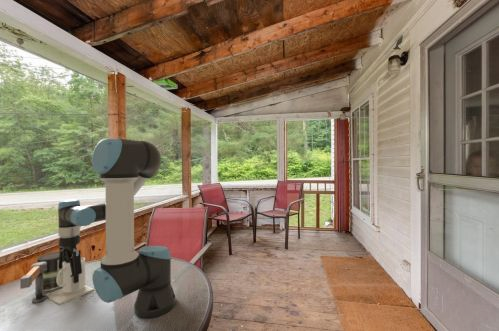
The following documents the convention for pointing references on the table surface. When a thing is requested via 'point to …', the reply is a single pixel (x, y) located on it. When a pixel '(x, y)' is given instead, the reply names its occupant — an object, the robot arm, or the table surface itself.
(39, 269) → the swing arm
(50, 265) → the coffee can
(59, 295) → the coaster
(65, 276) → the mug
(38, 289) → the post
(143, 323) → the table surface
